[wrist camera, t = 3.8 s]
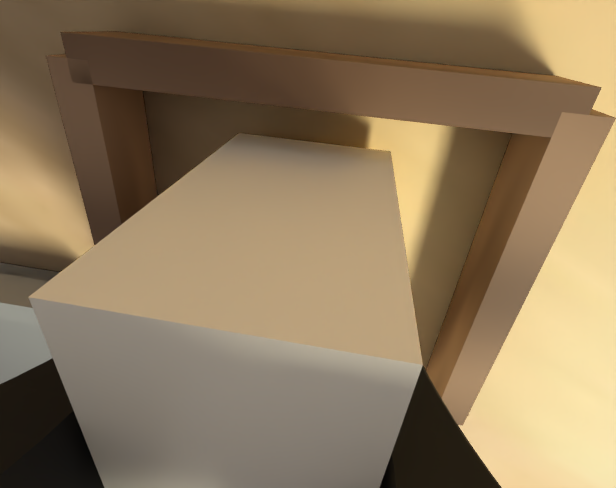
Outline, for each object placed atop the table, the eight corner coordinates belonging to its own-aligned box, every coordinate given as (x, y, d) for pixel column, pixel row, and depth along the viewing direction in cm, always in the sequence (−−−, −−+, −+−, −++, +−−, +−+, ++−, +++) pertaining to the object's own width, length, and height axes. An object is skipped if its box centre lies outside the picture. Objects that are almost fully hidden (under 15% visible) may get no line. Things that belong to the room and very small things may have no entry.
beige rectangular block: (345, 379, 14) (324, 643, 8) (242, 361, 14) (149, 600, 8) (390, 151, 9) (423, 364, 3) (239, 132, 10) (28, 297, 4)
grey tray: (157, 473, 21) (138, 511, 20) (-30, 434, 22) (-63, 467, 21) (109, 280, 14) (73, 315, 12) (-164, 235, 15) (-232, 262, 13)
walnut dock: (451, 376, 14) (462, 425, 12) (153, 325, 15) (125, 363, 13) (578, 78, 9) (628, 91, 7) (98, 29, 10) (39, 29, 8)
